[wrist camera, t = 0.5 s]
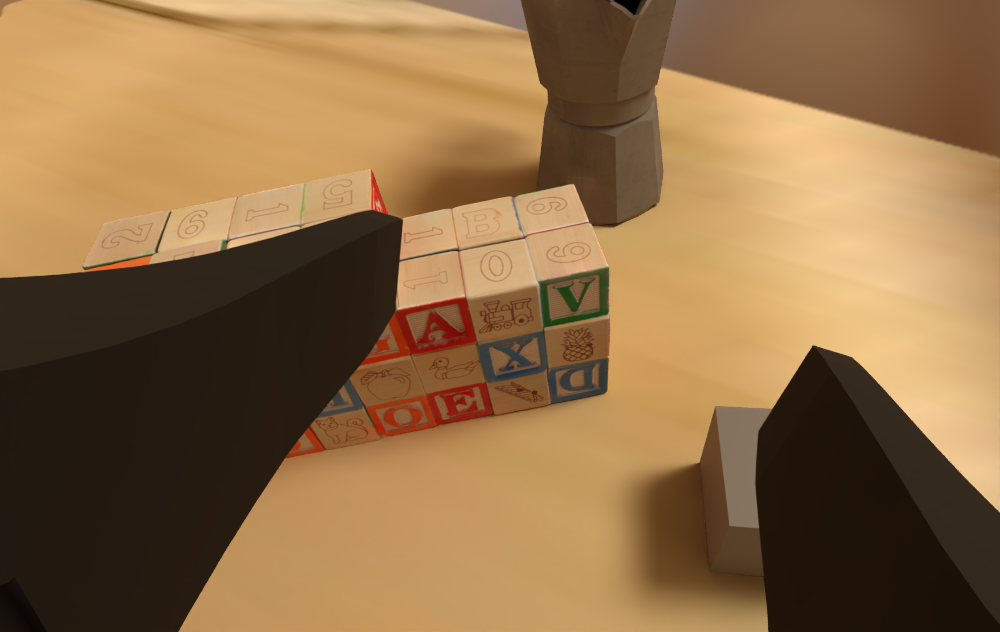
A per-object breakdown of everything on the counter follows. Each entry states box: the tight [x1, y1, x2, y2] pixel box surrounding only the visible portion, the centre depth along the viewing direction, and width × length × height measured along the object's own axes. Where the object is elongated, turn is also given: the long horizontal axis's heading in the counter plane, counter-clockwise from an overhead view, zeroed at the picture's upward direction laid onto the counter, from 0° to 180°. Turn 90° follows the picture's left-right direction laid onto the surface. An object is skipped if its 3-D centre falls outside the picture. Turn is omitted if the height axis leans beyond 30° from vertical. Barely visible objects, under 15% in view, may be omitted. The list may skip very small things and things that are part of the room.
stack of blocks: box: [82, 169, 610, 458], centre depth 28 cm, size 21×6×12 cm, turn 99°
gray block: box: [700, 406, 772, 577], centre depth 24 cm, size 5×5×5 cm
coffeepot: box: [521, 0, 676, 225], centre depth 37 cm, size 15×9×18 cm, turn 8°
